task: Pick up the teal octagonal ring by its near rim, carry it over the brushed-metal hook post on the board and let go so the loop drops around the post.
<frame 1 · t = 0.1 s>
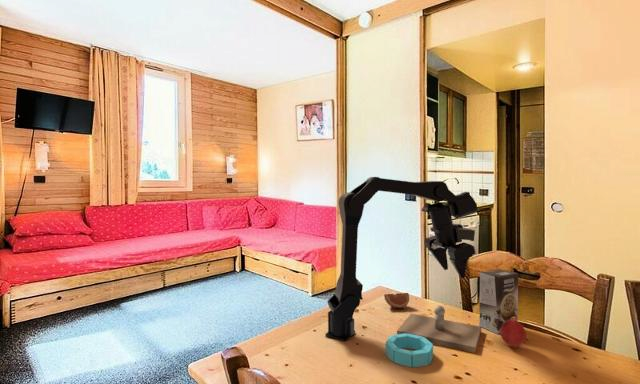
hand: (454, 273, 104), 15 cm above the table, tool pointing down, fingers open, 9 cm apart
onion: (512, 348, 90), on the table
fruit slice: (396, 308, 119), on the table
hook board: (439, 333, 98), on the table
coffee box: (498, 327, 103), on the table
teal octagonal ring: (409, 355, 87), on the table
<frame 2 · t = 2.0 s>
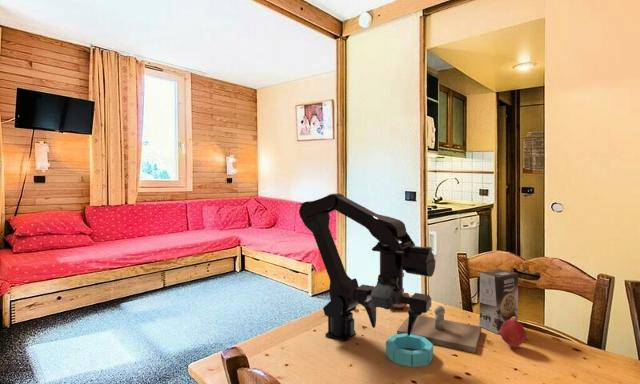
hand: (391, 331, 89), 5 cm above the table, tool pointing down, fingers open, 9 cm apart
nothing on the table moved.
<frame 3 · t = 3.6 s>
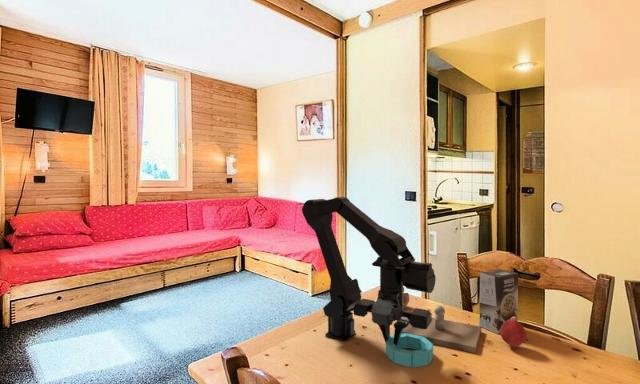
hand: (391, 346, 89), 1 cm above the table, tool pointing down, fingers closed on teal octagonal ring, 2 cm apart
teal octagonal ring: (409, 355, 87), on the table, touching gripper
everything else where it was.
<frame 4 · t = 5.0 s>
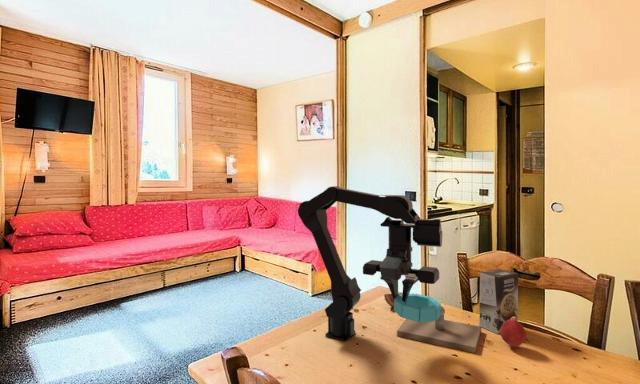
hand: (399, 304, 91), 11 cm above the table, tool pointing down, fingers closed on teal octagonal ring
teal octagonal ring: (416, 312, 89), point 10 cm above the table, touching gripper
everything else where it was.
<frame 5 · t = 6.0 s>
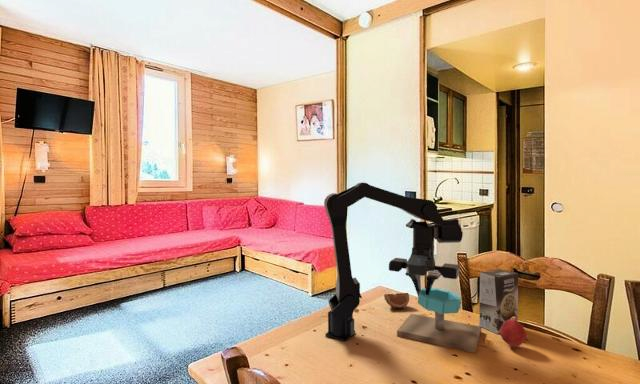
hand: (423, 297, 100), 10 cm above the table, tool pointing down, fingers closed on teal octagonal ring
teal octagonal ring: (438, 305, 98), point 8 cm above the table, touching gripper
everything else where it was.
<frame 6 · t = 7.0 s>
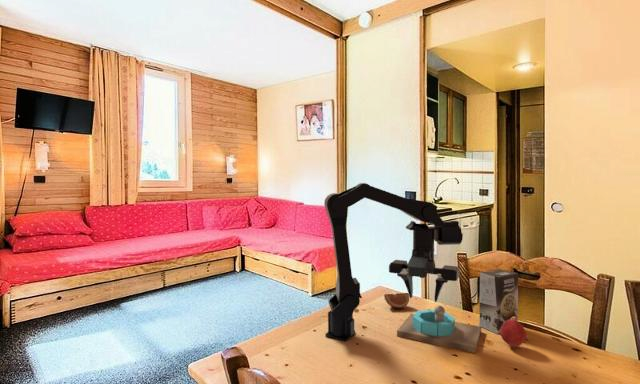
hand: (423, 299, 100), 9 cm above the table, tool pointing down, fingers open, 7 cm apart
teal octagonal ring: (433, 327, 99), point 1 cm above the table, touching hook board
everything else where it was.
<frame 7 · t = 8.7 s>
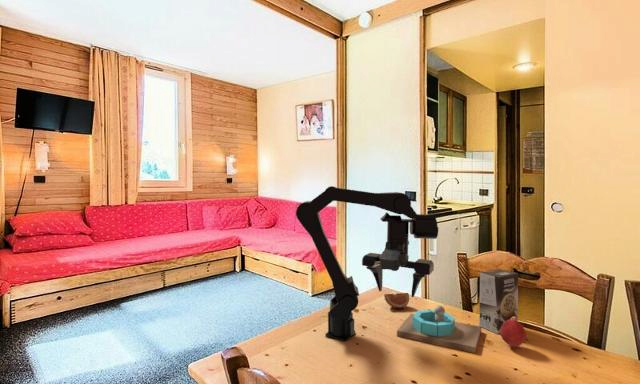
hand: (396, 293, 97), 12 cm above the table, tool pointing down, fingers open, 9 cm apart
nothing on the table moved.
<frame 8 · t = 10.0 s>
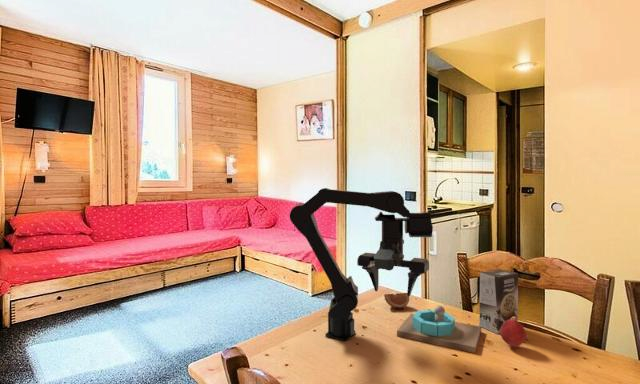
hand: (392, 293, 97), 12 cm above the table, tool pointing down, fingers open, 9 cm apart
nothing on the table moved.
at the end: teal octagonal ring 1.6 cm from the hook board (horizontally); teal octagonal ring point 1.5 cm above the table; the gripper is holding nothing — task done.
